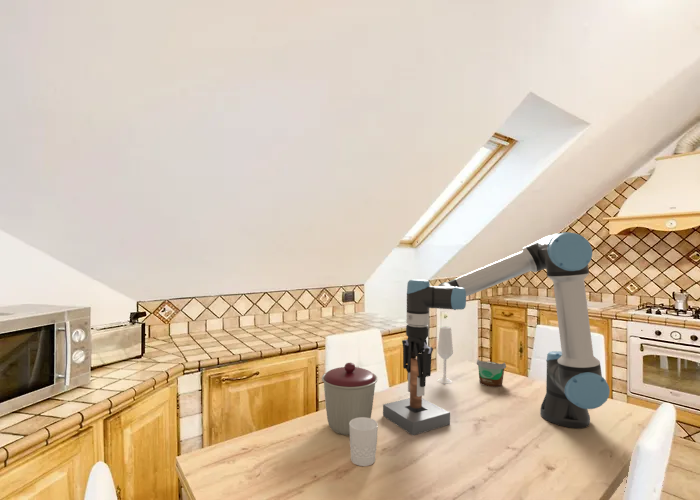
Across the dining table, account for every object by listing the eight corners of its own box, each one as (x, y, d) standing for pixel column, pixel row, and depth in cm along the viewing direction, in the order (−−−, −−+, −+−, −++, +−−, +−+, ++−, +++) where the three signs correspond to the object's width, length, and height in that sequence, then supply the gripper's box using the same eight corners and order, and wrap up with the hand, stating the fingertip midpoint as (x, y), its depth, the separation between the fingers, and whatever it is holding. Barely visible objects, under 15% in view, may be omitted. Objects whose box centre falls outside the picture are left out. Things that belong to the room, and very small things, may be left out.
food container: (473, 384, 166) (474, 361, 166) (476, 380, 171) (476, 358, 171) (504, 390, 160) (504, 366, 160) (505, 385, 165) (506, 362, 165)
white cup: (349, 451, 109) (349, 416, 109) (376, 452, 109) (377, 417, 109) (348, 467, 101) (348, 429, 101) (377, 468, 101) (378, 430, 101)
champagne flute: (446, 377, 174) (447, 325, 174) (455, 382, 168) (456, 328, 168) (434, 379, 172) (434, 326, 172) (442, 384, 165) (443, 329, 165)
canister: (329, 413, 134) (330, 353, 134) (380, 418, 131) (381, 357, 131) (313, 438, 117) (315, 369, 117) (372, 445, 113) (373, 374, 113)
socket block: (449, 424, 127) (450, 412, 127) (412, 435, 119) (412, 422, 119) (418, 406, 141) (418, 396, 141) (382, 415, 133) (383, 404, 133)
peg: (424, 406, 130) (425, 359, 129) (415, 409, 127) (416, 361, 127) (416, 402, 133) (417, 356, 133) (407, 404, 131) (408, 358, 131)
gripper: (393, 321, 136) (392, 387, 136) (425, 330, 121) (424, 404, 121) (409, 319, 139) (408, 383, 139) (443, 328, 125) (441, 400, 125)
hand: (416, 393), depth 130 cm, fingers closed on peg, 4 cm apart
